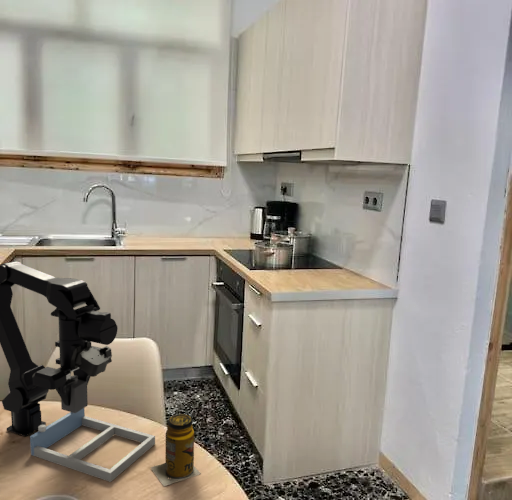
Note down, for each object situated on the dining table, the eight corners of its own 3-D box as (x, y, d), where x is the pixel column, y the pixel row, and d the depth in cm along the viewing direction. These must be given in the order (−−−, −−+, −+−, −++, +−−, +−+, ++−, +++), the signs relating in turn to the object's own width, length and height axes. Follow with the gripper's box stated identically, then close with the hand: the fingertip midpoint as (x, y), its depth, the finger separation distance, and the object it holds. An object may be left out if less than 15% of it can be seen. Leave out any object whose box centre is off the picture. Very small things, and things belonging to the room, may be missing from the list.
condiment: (200, 474, 108) (201, 422, 106) (163, 487, 103) (164, 433, 101) (186, 457, 114) (186, 407, 112) (150, 468, 109) (150, 417, 107)
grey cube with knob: (61, 409, 115) (60, 378, 114) (74, 402, 119) (73, 372, 118) (75, 413, 114) (74, 382, 113) (87, 405, 118) (86, 375, 116)
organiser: (29, 454, 113) (28, 431, 112) (80, 422, 127) (80, 401, 127) (110, 481, 104) (110, 457, 103) (155, 443, 119) (155, 422, 118)
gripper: (70, 357, 102) (72, 428, 105) (128, 330, 119) (128, 392, 122) (29, 347, 106) (32, 416, 109) (90, 323, 123) (91, 383, 126)
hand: (74, 401), depth 116 cm, fingers closed on grey cube with knob, 4 cm apart
